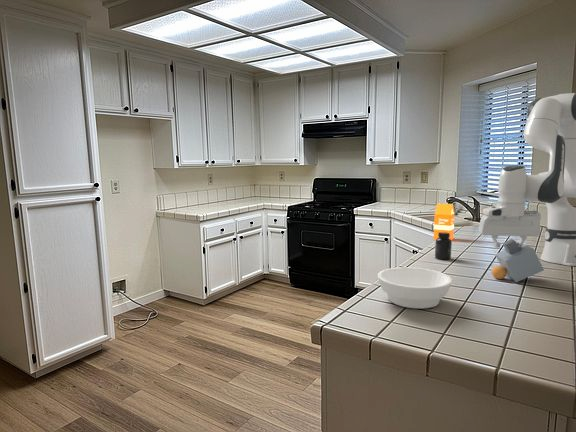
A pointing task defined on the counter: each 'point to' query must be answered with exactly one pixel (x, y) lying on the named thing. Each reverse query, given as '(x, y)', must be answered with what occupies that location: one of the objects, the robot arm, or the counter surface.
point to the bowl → (414, 286)
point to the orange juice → (444, 220)
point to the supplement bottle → (443, 246)
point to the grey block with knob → (519, 261)
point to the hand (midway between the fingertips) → (508, 247)
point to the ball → (499, 272)
